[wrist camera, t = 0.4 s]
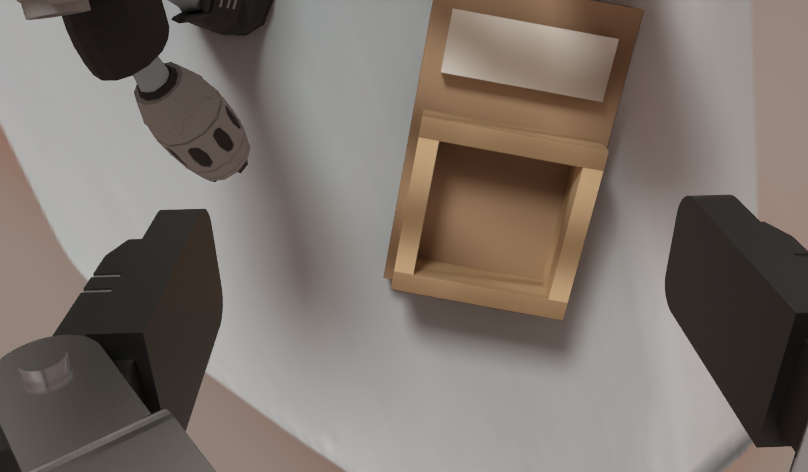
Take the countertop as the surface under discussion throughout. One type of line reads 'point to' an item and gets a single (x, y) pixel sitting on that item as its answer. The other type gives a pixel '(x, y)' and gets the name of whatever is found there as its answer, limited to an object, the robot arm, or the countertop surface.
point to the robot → (163, 70)
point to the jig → (508, 149)
